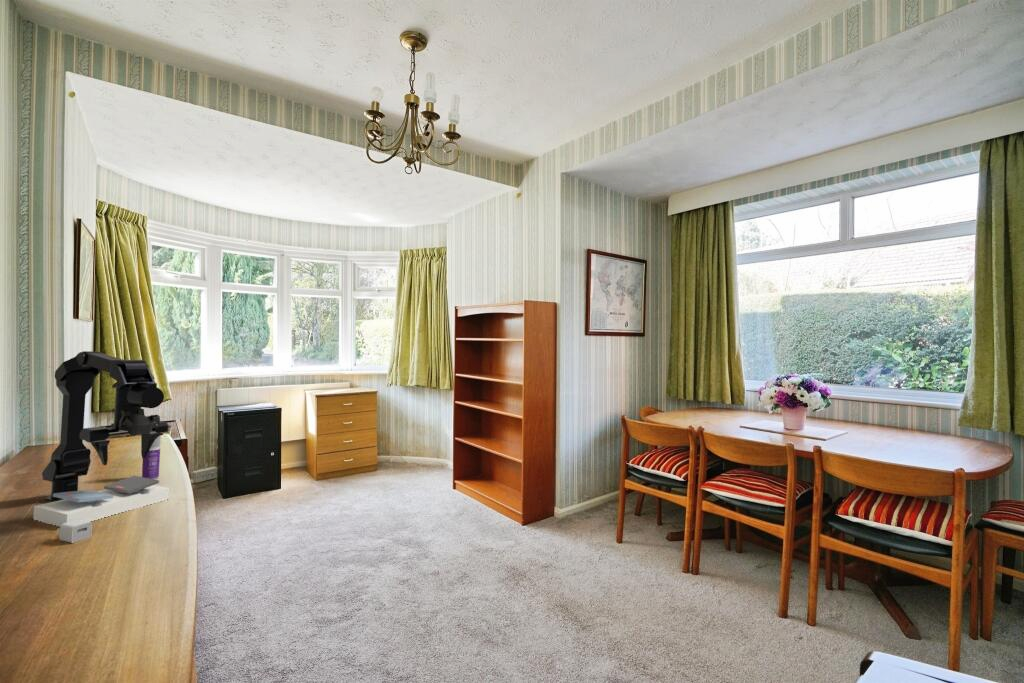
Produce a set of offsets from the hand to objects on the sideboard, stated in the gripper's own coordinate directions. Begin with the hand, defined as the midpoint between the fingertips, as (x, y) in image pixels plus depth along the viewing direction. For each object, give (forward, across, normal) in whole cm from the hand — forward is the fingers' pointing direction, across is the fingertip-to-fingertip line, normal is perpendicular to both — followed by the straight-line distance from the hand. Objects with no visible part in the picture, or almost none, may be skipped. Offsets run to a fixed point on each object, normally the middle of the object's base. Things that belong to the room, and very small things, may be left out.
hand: (124, 461), depth 129 cm
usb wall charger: (+14, -15, -9) cm, 23 cm away
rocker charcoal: (+10, +6, +8) cm, 14 cm away
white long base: (+14, 0, +7) cm, 16 cm away
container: (+15, +22, +29) cm, 39 cm away
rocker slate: (+10, -6, +7) cm, 13 cm away
